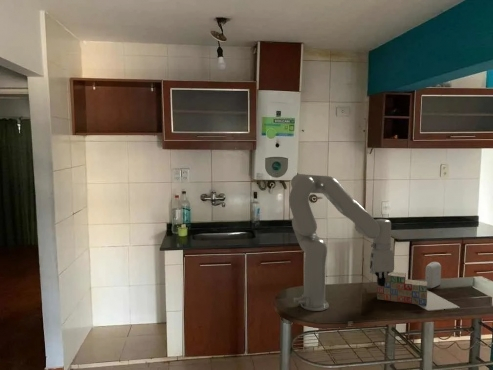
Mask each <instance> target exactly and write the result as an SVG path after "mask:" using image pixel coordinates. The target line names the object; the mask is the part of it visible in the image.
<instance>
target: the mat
mask: <svg viewBox="0 0 493 370" xmlns="http://www.w3.org/2000/svg"><path fill="white" fill-rule="evenodd" d="M416 305H417V306H419V307H420V308H422V309H424V310H425V311H427V312H432V311H433V312H434V311H444V309H445V310H453V309H460V308H461V307H460V306H458V305H457V304H455V303H453V302H451V301H448V300H447V299H445V298H444V297H441V296H439V295H437V294H436V293H434V292H432V291H429V290H428V289H427V306H425V305H418V304H416Z"/></svg>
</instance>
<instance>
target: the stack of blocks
mask: <svg viewBox="0 0 493 370" xmlns="http://www.w3.org/2000/svg"><path fill="white" fill-rule="evenodd" d="M406 275H407V274H406V272H396V271H393V272H391V273H389V274H388V275H387V277H386V278H385V286H382V287H381V286H379V285H378V283H377V282H376V298H377V300H381V301H388V302H389V301H390V302H395V303H405V304H411V305H412V304H413V305H417V304H418V305H425V306H427V290H428V287H427V282H425V280H415V279H414V280H413V279H407V276H406ZM418 305H417V306H418Z"/></svg>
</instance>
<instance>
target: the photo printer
mask: <svg viewBox="0 0 493 370" xmlns="http://www.w3.org/2000/svg"><path fill="white" fill-rule="evenodd" d="M424 276H425V278H424V279H425V280H424V281H425V282H427V289H432V288H435V287H439V286H440V285H441V282H442V278H441V277H442V265H441V263H440V262H438V261H432V262H430V263H428V264H427V265H426V266H425V274H424Z"/></svg>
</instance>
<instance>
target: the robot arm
mask: <svg viewBox="0 0 493 370" xmlns="http://www.w3.org/2000/svg"><path fill="white" fill-rule="evenodd" d="M290 184H291V185H290V186H291V190H290V193H289V197H288V203H289V208H290V211H291V214H292V220H291V225H292V229H293V232H294V234H295V237H296V239H297V242H298V245H299V246H300V249H301V250H302V251H303V253H304V263H303V294H301V296H299V297H293V303H298V304H300V307H301V308H302V309H304V310H308V311H312V312H322V311H325V310H328V308H329V306H330V305H329V302H327V300H326V261H327V254H328V247H327V244H326V243H325V241H324V240H323V239H322V238H320V237H319V236H318V234H317V229H318V226H317V225H318V224H317V220H316V219H315V216H314V214H313V211H312V209H311V205H310V202H309V200H310V199H309V197H310V195H311V194H322V195H324V197H326V199H327V200H328V201H329V202H330V204H332V205H333V207H335V209H336V210H337V211H338V212H339V213H340V214H341V215H343V216H344V217H346V218H347V219H348V220H350V221H351V222H352V223H354V229H355V231H356V232H357V234H360V235H362V236H363V237H366V238H367V239H371V240H373V242H372V244H370V247H371V248H372V249H371V251H370V258H369V269H370V272H369V273H370V274H371V275H375V276H376V284H377V283H378V285H379V286H381V287H382V286H385V278H386V277H387V275H388V274H389V273H391V272H394V271H395V257H394V256H395V255H394V251H393V249H392V248H391V246H392V243H391V241H392V237H391V235H392V222H391V220H389V219H384V218H377V219H374V217H373V216H372V214H370V213H369V212H368V211H367V210H366V209H365V208H364V207H363V206H362V205H361V204H360V203H358V202H357V201H356V199H354V198H353V197H352V195H351V194H350V193H349V192H348V191H347V190H346V189H345V188H344V186H342V184H341V183H340V182H339V181H338V180H337V179H336V178H335V177H334V176H333V177H332V176H328V175H314V174H306V173H305V174H304V173H299V174H296V175H293V177H292V178H291V181H290Z"/></svg>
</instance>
